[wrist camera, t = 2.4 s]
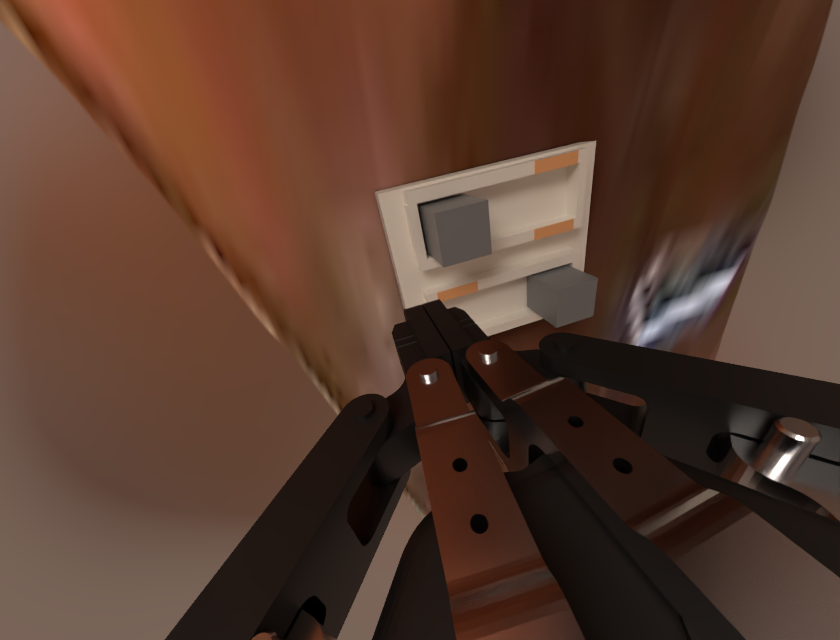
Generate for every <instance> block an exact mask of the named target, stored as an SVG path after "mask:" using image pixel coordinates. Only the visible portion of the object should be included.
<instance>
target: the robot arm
mask: <svg viewBox="0 0 840 640" xmlns="http://www.w3.org/2000/svg"><path fill="white" fill-rule="evenodd" d="M404 315H405V319H406V322H403V323H399V324H396V325H395V326H394V328H393V331H392V335H393V339H394V342H395V346H396V349H397V352H398V356H399V359H400V363H401V366H402V369H403V372H404V375H405V380H404V383H403V384H402V386H401V387H400V388H399V389H398V390H397V391H396V392H394V393H393V394H392V395H390V396H388V397H387V398H384V397H383V396H381V395H378V394H365V395H362V396H359V397H357V398H355V399H353V400H352V401H350V402H349V403H348V404H347V405H346V406H345V407H344V408H343V410H342V411H341V412H340V414H339V415H338V416H337V418H336V419H335V420H334V421H333V423H332V424H331V425H330V427H329V428H328V429H327V430H326V432H325V433H324V434H323V436H322V437H321V438H320V439H319V441H318V442H317V444H316V445H315V446H314V448H313V449H312V450H311V451H310V453H309V454H308V455H307V456H306V458H305V459H304V460H303V462H302V463H301V464H300V465H299V467H298V468H297V469H296V471H295V472H294V473H293V475H292V476H291V477H290V478H289V480H288V481H287V482H286V483H285V485H284V486H283V487H282V489H281V490H280V491H279V493H278V494H277V495H276V496H275V498H274V499H273V500H272V502H271V503H270V504H269V505H268V507H267V508H266V509H265V511H264V512H263V513H262V515H261V516H260V517H259V519H258V520H257V521H256V522H255V524H254V525H253V526H252V527H251V529H250V530H249V532H248V533H247V534H246V535H245V537H244V538H243V539H242V540H241V542H240V543H239V544H238V546H237V547H236V548H235V549H234V551H233V552H232V553H231V555H230V556H229V558H228V559H227V560H226V561H225V562H224V564H223V565H222V566H221V568H220V569H219V570H218V572H217V573H216V574H215V575H214V577H213V578H212V579H211V581H210V582H209V583H208V585H207V586H206V587H205V588H204V590H203V591H202V592H201V594H200V595H199V596H198V597H197V599H196V600H195V601H194V603H193V604H192V605H191V606H190V608H189V609H188V610H187V612H186V613H185V614H184V616H183V617H182V618H181V619H180V621H179V622H178V624H177V625H176V626H175V627H174V629H173V630H172V631H171V632H170V634H169V635H168V636H167V638H166V639H165V640H337V637H338V635H339V633H340V630H341V629H342V626H343V624H344V621H345V620H346V617H347V615H348V613H349V611H350V608H351V606H352V604H353V602H354V600H355V597H356V595H357V593H358V591H359V588H360V586H361V584H362V582H363V579H364V577H365V575H366V573H367V570H368V568H369V566H370V564H371V562H372V559H373V557H374V555H375V553H376V550H377V548H378V546H379V544H380V541H381V539H382V537H383V535H384V532H385V530H386V528H387V526H388V524H389V521H390V519H391V517H392V514H393V512H394V510H395V508H396V506H397V504H398V501H399V499H400V497H401V495H402V492H403V490H404V488H405V486H406V483H407V481H408V479H409V476H410V469H411V468H412V467H414V466H415V465H416V464H418V463H419V462H420V461H422V466H423V471H424V476H425V481H426V485H427V490H428V495H429V500H430V505H431V510H432V511H431V512H430V513H429V514H428V515H427V516H426V517H425V518H424V519H423V520H422V521H421V522H420V524H419V525H418V526H417V527H416V529H415V531H414V532H413V534H412V535H411V537H410V539H409V541H408V543H407V545H406V547H405V549H404V551H403V554H402V556H401V559H400V562H399V564H398V567H397V570H396V573H395V576H394V579H393V581H392V585H391V587H390V590H389V593H388V596H387V598H386V601H385V604H384V607H383V610H382V613H381V616H380V618H379V621H378V624H377V627H376V630H375V632H374V635H373V638H372V640H840V384H836V383H831V382H826V381H820V380H815V379H810V378H804V377H799V376H793V375H788V374H783V373H777V372H772V371H767V370H762V369H756V368H751V367H746V366H741V365H735V364H730V363H724V362H719V361H714V360H709V359H703V358H698V357H693V356H687V355H682V354H677V353H672V352H666V351H661V350H656V349H650V348H645V347H640V346H634V345H629V344H624V343H618V342H613V341H608V340H603V339H597V338H592V337H587V336H581V335H576V334H571V333H554V334H550V335H547V336H545V337H544V338H542V339H541V341H540V343H539V349H537V350H526V351H513V350H512V349H511V348H510V347H509V346H508V345H506V344H505V343H503V342H500V341H495V340H490V339H489V337H488V336H487V335H486V334H485V333H484V332H483V331H482V330H481V328H480V327H479V326H478V325H477V324H475V322H474V321H473V319H472V318H470V316H469V315H468V314H467V313H466V312H465V311H464V310H462V309H459V308H457V307H452V308H449V309H447V308H446V307H445V305H444V304H443V303H442V302H441V300H440V299H437V300H434V301H431V302H427V303H424V304H422V305H417V306H414V307H411V308H407V309H404ZM587 382H588V383H592V384H595V385H599V386H603V387H606V388H610V389H614V390H617V391H621V392H625V393H628V394H632V395H635V396H638V397H640V398H642V399H643V400H644V401H645V402H646V404H645V405H643V406H631V405H627V404H624V403H620V402H617V401H614V400H610V399H607V398H603V397H600V396H596V395H593V394H589V393H586V390H587ZM469 402H470V403H471V405H472V407H473V410H474V411H470V410H469V408H468V405H467V403H469ZM488 440H489V441H488ZM489 442H490V443H491V445H492V446H493V448H494V449H495V451H496V452H497V454H498V455H499V457H500V458H501V460H502V461H503V463H504V464H505V466H506V468H507V469H508V472H504V473H503V471H502V469H501V467H500V465H499V462H498V460H497V458H496V456H495V454H494V451H493V449H492V447H491V445H490V443H489Z"/></svg>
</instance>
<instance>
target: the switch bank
mask: <svg viewBox="0 0 840 640" xmlns="http://www.w3.org/2000/svg"><path fill="white" fill-rule="evenodd" d="M595 147H596V141H589V142H579V143H575V144H571V145H567V146H563V147H558V148H554V149H550V150H546V151H542V152H538V153H534V154H529V155H525V156H521V157H517V158H513V159H509V160H505V161H501V162H496V163H492V164H488V165H484V166H480V167H476V168H472V169H467V170H463V171H459V172H455V173H451V174H447V175H443V176H438V177H434V178H430V179H426V180H422V181H418V182H414V183H409V184H405V185H401V186H397V187H393V188H389V189H385V190H380V191H376V192H375V196H376V200H377V204H378V208H379V212H380V216H381V220H382V224H383V228H384V232H385V236H386V240H387V244H388V248H389V252H390V256H391V260H392V263H393V267H394V271H395V275H396V279H397V283H398V287H399V291H400V295H401V299H402V303H403V307H404V309H407V308H411V307H414V306H417V305H422V304H424V303H427V302H431V301H434V300H437V299H440V300H441V302H442V303H443V304H444V305H445V307H446V308H447V309H449V308H452V307H457V308H459V309H462V310H464V311H465V312H466V313H467V314H468V315H469V316H470V318H472V319H473V321H474V322H475V324H477V325H478V326H479V327H480V328H481V330H482V331H483V332H484V333H485V334H486V335H487V336H490V335H494V334H497V333H500V332H503V331H506V330H509V329H512V328H515V327H519V326H522V325H525V324H528V323H531V322H534V321H537V320H541V319H544V318H542V317H541V316H540V315H538V314H537V313H536V312H534V311H533V310H532V309H530V308H529V307H527V276H528V275H532V274H535V273H539V272H542V271H545V270H549V269H552V268H555V267H559V266H562V265H566V264H567V265H569V266H571V267H574V268H576V269H578V270H580V271H583V272H584V263H585V253H586V242H587V232H588V221H589V210H590V200H591V189H592V179H593V168H594V158H595ZM458 194H466V195H470V196H474V197H478V198H483V199H487V200H488V205H489V220H490V234H491V248H492V254H490V255H486V256H483V257H479V258H476V259H472V260H469V261H465V262H462V263H458V264H455V265H451V266H448V267H444V268H443V267H442V266H441V265H440V264H439V263H438V262H437V261H436V260H435V259H434V258H433V257H432V256H431V255H430V254H429V253H428V252H426V249H425V244H424V238H423V233H422V228H421V222H420V217H419V212H418V206H417V205H418V204H422V203H426V202H430V201H434V200H438V199H442V198H446V197H450V196H454V195H458Z"/></svg>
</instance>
